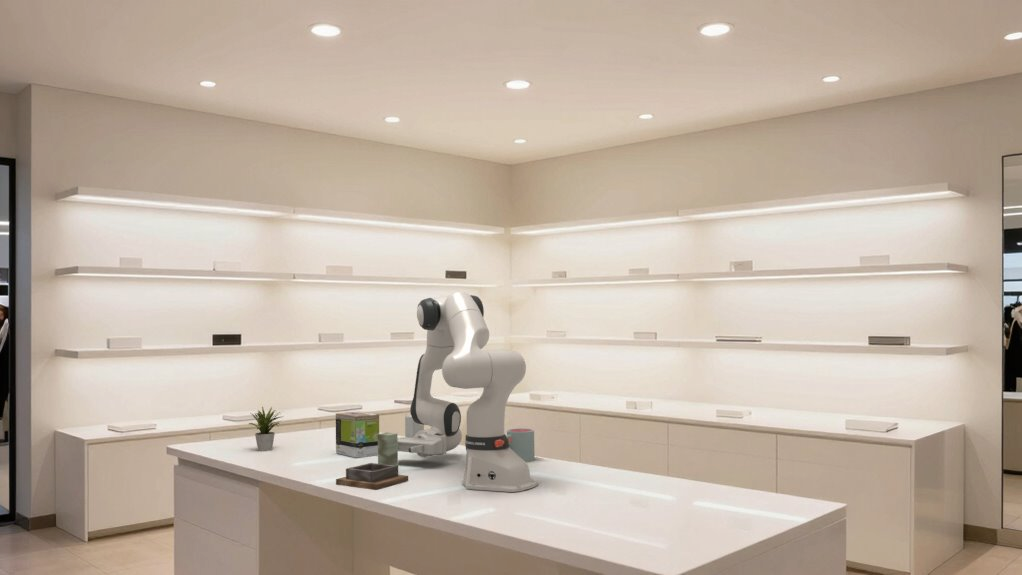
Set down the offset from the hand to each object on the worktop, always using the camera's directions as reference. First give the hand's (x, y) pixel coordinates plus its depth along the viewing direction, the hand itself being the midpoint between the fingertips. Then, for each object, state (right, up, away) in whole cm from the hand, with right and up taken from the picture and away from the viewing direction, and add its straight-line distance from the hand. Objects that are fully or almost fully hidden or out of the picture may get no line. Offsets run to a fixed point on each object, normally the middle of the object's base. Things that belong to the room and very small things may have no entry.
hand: (398, 449), depth 270 cm
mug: (+38, -6, +11) cm, 40 cm away
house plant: (-55, -9, +41) cm, 70 cm away
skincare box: (0, -8, +41) cm, 42 cm away
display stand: (-5, -6, -21) cm, 22 cm away
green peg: (-3, -6, -4) cm, 8 cm away
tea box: (-19, -8, +30) cm, 36 cm away
